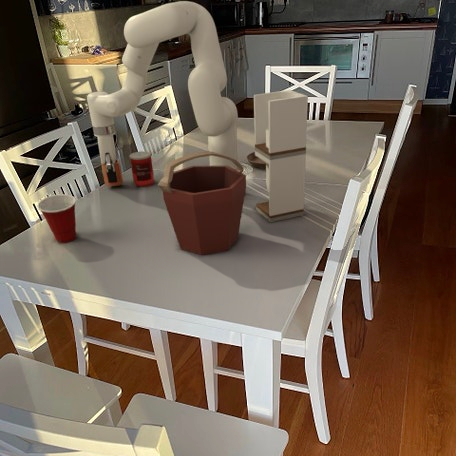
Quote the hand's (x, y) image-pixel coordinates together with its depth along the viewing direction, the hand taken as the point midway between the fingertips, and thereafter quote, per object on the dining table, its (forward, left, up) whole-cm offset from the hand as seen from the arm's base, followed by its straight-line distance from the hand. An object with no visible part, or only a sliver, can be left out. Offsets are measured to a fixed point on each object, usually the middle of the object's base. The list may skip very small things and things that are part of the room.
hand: (113, 178), depth 177 cm
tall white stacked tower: (-40, -53, -3) cm, 66 cm away
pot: (0, 0, -2) cm, 2 cm away
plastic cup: (-41, +13, -3) cm, 43 cm away
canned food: (0, -11, -3) cm, 11 cm away
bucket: (-53, -28, -3) cm, 60 cm away
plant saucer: (+8, -61, -3) cm, 62 cm away
